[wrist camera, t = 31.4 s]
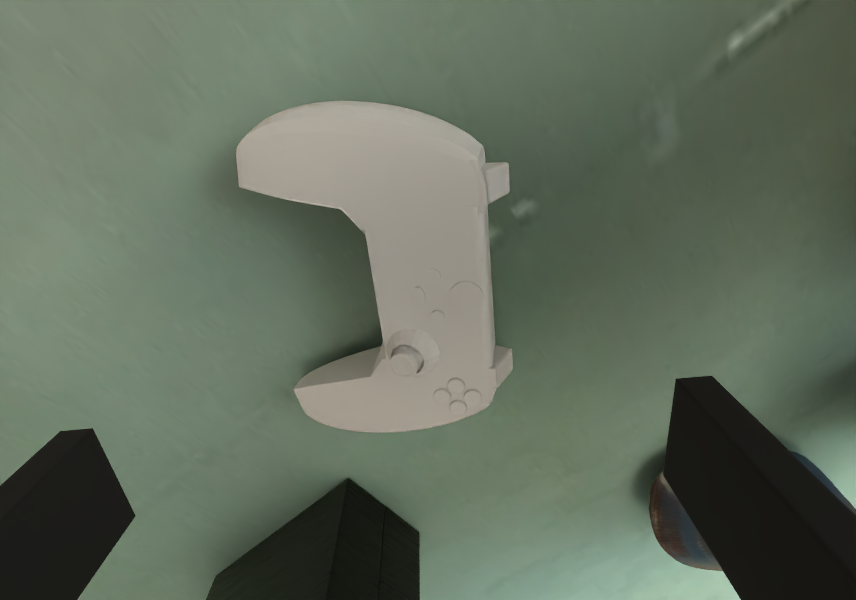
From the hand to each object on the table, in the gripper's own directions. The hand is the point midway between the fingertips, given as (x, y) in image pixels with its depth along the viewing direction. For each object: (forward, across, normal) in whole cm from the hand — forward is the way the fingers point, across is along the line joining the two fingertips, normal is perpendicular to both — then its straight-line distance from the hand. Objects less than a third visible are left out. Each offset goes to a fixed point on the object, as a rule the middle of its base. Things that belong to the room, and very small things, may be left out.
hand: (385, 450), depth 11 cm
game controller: (+11, -6, 0) cm, 12 cm away
